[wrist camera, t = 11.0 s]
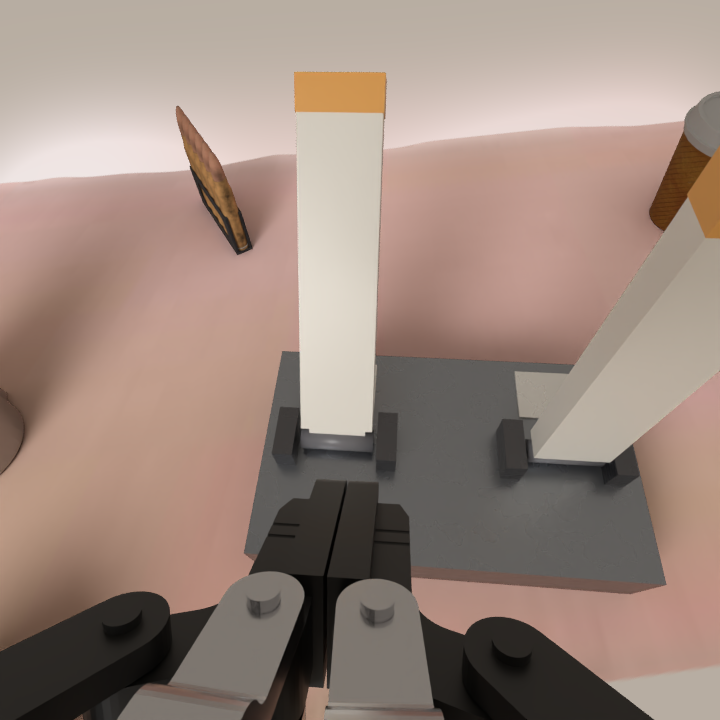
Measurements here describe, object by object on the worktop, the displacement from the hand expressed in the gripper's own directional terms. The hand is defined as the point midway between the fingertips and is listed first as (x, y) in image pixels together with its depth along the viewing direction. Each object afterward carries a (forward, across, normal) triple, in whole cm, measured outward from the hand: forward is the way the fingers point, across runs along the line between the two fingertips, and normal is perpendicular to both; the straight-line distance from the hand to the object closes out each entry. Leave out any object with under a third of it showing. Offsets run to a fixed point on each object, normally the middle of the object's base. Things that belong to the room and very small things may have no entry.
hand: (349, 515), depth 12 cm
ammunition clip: (+46, -19, +9) cm, 51 cm away
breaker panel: (+26, +5, -12) cm, 29 cm away
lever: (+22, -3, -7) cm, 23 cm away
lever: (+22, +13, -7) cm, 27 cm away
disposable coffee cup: (+49, +32, +10) cm, 59 cm away
